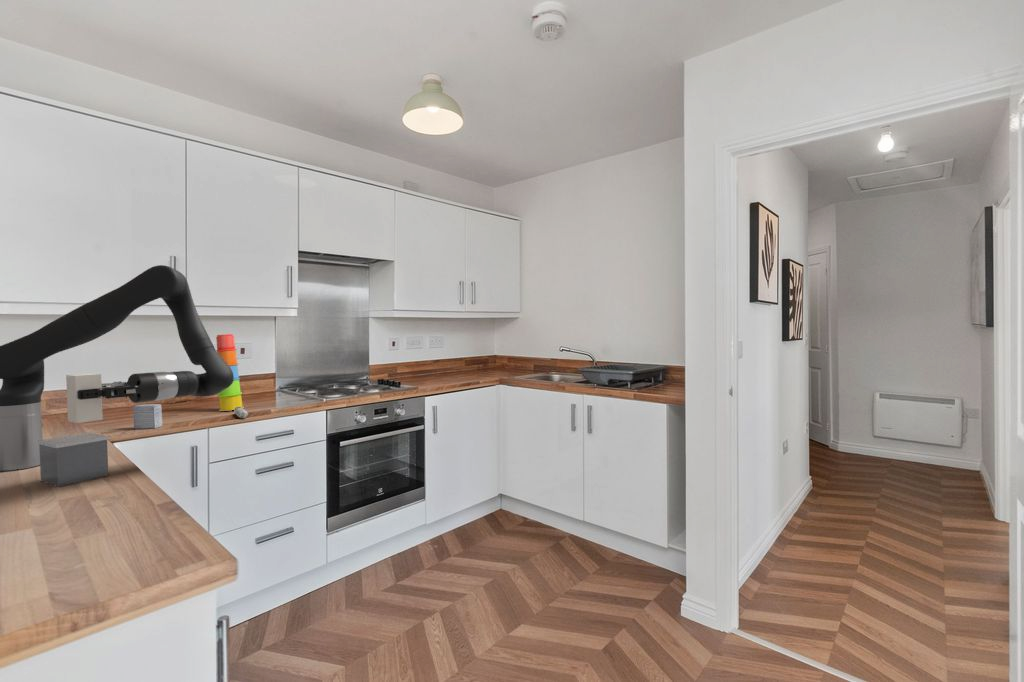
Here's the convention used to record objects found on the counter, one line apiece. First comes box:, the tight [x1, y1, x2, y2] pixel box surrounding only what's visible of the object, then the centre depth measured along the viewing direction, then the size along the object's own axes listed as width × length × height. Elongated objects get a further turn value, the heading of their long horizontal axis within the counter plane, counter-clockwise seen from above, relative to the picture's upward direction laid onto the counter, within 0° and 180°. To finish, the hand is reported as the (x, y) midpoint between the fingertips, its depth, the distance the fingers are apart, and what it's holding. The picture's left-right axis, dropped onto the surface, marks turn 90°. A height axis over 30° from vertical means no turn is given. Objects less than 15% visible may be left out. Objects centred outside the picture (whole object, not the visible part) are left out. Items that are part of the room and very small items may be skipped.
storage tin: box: [38, 432, 109, 487], centre depth 127 cm, size 10×10×10 cm
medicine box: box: [132, 403, 163, 430], centre depth 193 cm, size 8×4×9 cm, turn 92°
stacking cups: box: [215, 333, 245, 410], centre depth 232 cm, size 10×10×35 cm
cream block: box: [65, 372, 104, 424], centre depth 122 cm, size 5×5×11 cm
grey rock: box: [233, 406, 249, 419], centre depth 215 cm, size 18×5×7 cm, turn 36°
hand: (73, 394), depth 120 cm, fingers closed on cream block, 5 cm apart
